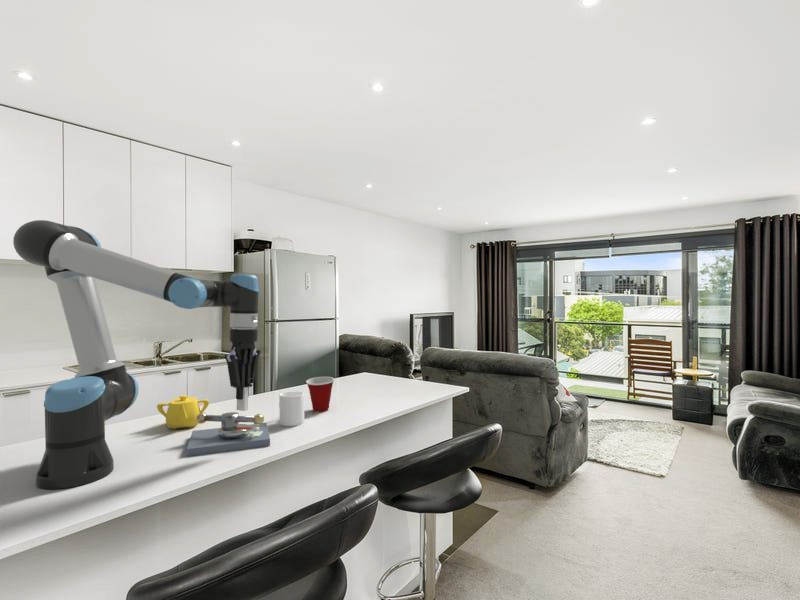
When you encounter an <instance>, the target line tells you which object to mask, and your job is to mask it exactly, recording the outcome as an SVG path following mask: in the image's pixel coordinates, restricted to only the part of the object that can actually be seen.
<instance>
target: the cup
mask: <svg viewBox="0 0 800 600" xmlns="http://www.w3.org/2000/svg"><path fill="white" fill-rule="evenodd" d="M278 397H279V398H278V399H279V402H278V404H279V405H278V406H279V407H278V408H279V424H280V425H281V426H283V427H297V426H300V425H303V423H305V393H304V391H299V390H297V391H293V390H291V391H285V392H282V393H280V394H279V396H278Z"/></svg>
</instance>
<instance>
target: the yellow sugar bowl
mask: <svg viewBox="0 0 800 600" xmlns="http://www.w3.org/2000/svg"><path fill="white" fill-rule="evenodd" d="M200 403H203V406H202V408H201V406H200ZM209 404H210V401H209V399H204V398H203V399H199V400H198V399H197V397H195V396H188V395H187V394H182V395H180V396H179V397H177V398H173V399H172V400H170V402H162V403H158V404H157V405H156V408H157V411H158V412H159V413H160V414H161V415H162V416H164V418H165V425H166V426H167V427H168V428H169V429H171V430H177V428H178V429H181V428H188V427H191V428H194V427H195V426H197V425H199V423H198V422H197V421H196V417H197V415H198V414H199V413H204V412H205V410H206V409H207V408H208V406H209ZM166 406H167V409H166V411H165V410H164V408H163V407H166Z"/></svg>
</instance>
